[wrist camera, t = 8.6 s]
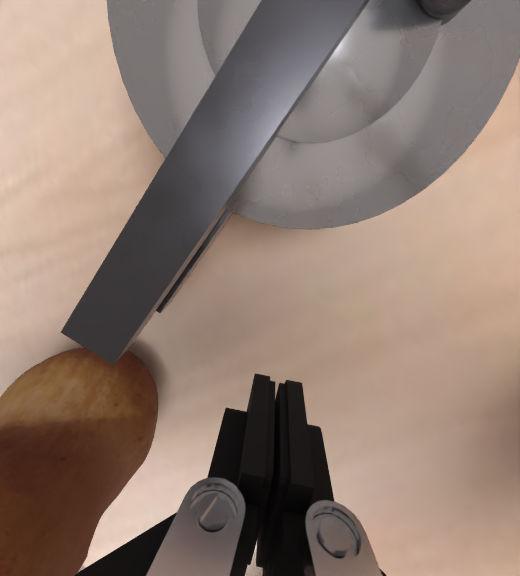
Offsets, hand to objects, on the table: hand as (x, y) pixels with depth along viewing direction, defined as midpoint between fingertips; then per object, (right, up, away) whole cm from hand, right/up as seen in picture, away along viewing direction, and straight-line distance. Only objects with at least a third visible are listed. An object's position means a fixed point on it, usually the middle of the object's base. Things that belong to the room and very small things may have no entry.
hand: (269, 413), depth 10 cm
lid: (-1, +13, +4) cm, 13 cm away
